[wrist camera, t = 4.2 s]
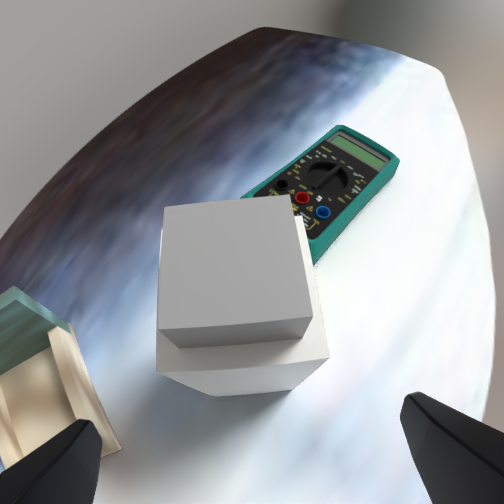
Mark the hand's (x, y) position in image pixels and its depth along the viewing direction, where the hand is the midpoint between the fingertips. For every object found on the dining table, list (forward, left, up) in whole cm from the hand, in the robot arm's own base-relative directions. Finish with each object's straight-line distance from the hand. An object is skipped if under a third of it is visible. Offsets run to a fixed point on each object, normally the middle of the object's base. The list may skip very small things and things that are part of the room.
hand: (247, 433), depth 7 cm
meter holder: (+6, +14, -11) cm, 19 cm away
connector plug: (+4, -2, -11) cm, 12 cm away
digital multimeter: (+13, -14, -12) cm, 22 cm away
